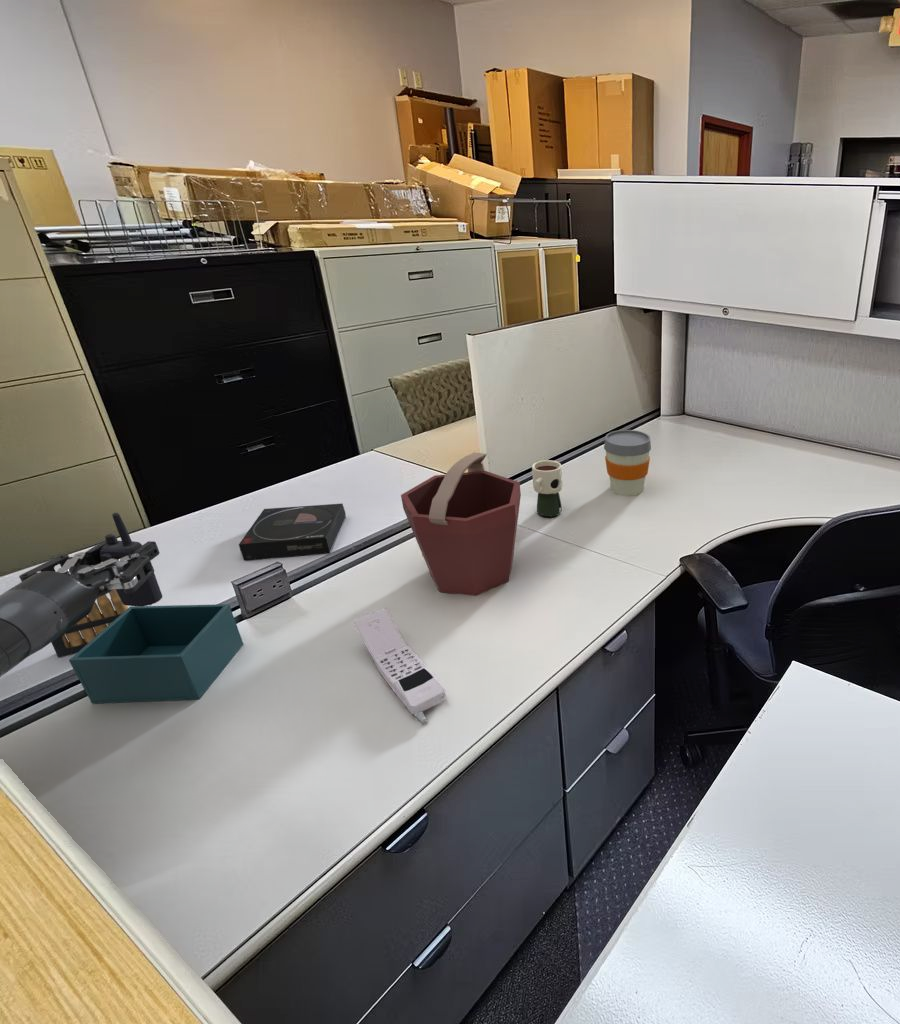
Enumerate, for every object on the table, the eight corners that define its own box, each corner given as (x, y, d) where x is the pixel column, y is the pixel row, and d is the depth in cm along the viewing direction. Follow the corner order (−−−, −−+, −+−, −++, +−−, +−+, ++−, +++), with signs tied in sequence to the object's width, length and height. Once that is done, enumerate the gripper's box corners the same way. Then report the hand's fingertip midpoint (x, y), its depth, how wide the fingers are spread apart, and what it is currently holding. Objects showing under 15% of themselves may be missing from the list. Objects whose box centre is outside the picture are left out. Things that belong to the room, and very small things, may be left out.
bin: (91, 703, 94) (68, 660, 90) (148, 647, 106) (130, 606, 102) (199, 699, 96) (181, 656, 92) (243, 644, 107) (229, 603, 103)
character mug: (552, 525, 150) (549, 476, 144) (526, 519, 152) (522, 471, 146) (571, 506, 159) (570, 459, 153) (547, 501, 161) (544, 455, 155)
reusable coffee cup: (596, 492, 167) (595, 440, 160) (618, 476, 177) (618, 426, 170) (637, 502, 163) (638, 449, 156) (657, 484, 173) (659, 434, 166)
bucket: (466, 536, 143) (452, 434, 132) (551, 554, 138) (544, 451, 126) (391, 592, 123) (368, 478, 111) (488, 617, 117) (474, 500, 105)
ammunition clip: (140, 629, 109) (115, 573, 104) (140, 635, 108) (114, 578, 103) (59, 651, 104) (27, 592, 98) (57, 657, 102) (25, 598, 97)
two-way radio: (170, 596, 94) (135, 509, 87) (147, 613, 90) (108, 523, 83) (134, 594, 94) (96, 507, 87) (109, 611, 90) (67, 521, 83)
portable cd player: (346, 517, 149) (342, 502, 147) (330, 553, 134) (326, 537, 132) (269, 522, 145) (265, 507, 143) (244, 560, 130) (238, 544, 128)
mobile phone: (385, 605, 109) (450, 679, 94) (392, 632, 112) (456, 708, 96) (350, 620, 105) (411, 699, 90) (357, 647, 108) (418, 728, 93)
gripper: (80, 591, 74) (175, 524, 89) (-48, 589, 73) (70, 522, 88) (104, 640, 78) (192, 568, 93) (-18, 639, 77) (91, 567, 92)
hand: (132, 546), depth 91 cm, fingers closed on two-way radio, 5 cm apart
